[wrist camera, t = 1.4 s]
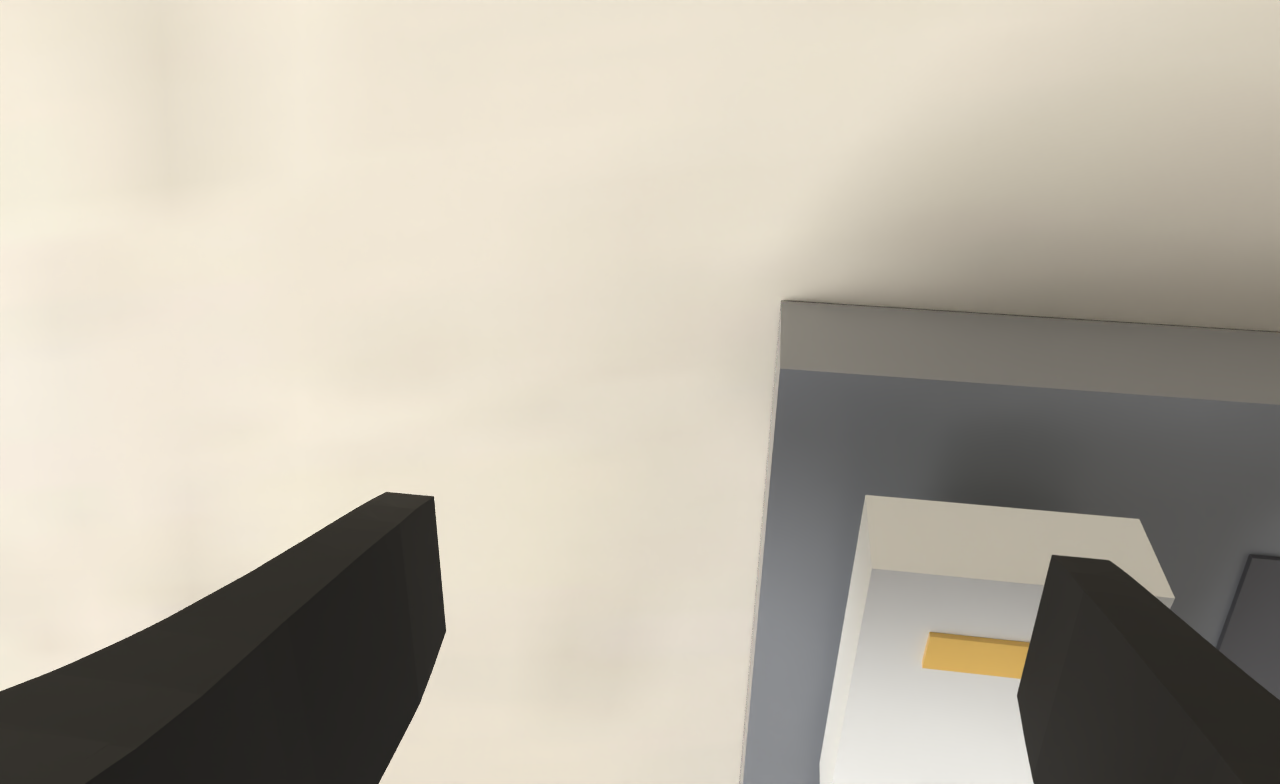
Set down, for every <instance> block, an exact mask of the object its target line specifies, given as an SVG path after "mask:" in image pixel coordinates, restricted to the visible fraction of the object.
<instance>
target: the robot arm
mask: <svg viewBox="0 0 1280 784" xmlns="http://www.w3.org/2000/svg"><path fill="white" fill-rule="evenodd" d="M445 633H446V625H445V614H444V603H443V592H442V581H441V570H440V559H439V548H438V537H437V526H436V515H435V504H434V496H423V495H412V494H402V493H391V492H385V493H383V494H382V495H380V496H378V497H376V498H374V499H372V500H370V501H368V502H366V503H365V504H363V505H361V506H359V507H358V508H356V509H354V510H353V511H351V512H349V513H348V514H346V515H344V516H343V517H341V518H339V519H338V520H336V521H334V522H333V523H331V524H329V525H328V526H326V527H325V528H323V529H321V530H320V531H318V532H316V533H315V534H313V535H311V536H310V537H308V538H307V539H305V540H303V541H302V542H300V543H298V544H297V545H295V546H293V547H292V548H290V549H288V550H287V551H285V552H283V553H282V554H280V555H278V556H277V557H275V558H273V559H272V560H270V561H268V562H267V563H265V564H263V565H262V566H260V567H258V568H257V569H255V570H253V571H252V572H250V573H248V574H246V575H245V576H243V577H241V578H239V579H237V580H235V581H234V582H232V583H230V584H228V585H226V586H224V587H223V588H221V589H219V590H217V591H215V592H214V593H212V594H210V595H208V596H206V597H204V598H203V599H201V600H199V601H197V602H195V603H194V604H192V605H190V606H188V607H186V608H184V609H183V610H181V611H179V612H177V613H175V614H174V615H172V616H170V617H168V618H166V619H164V620H162V621H160V622H158V623H156V624H154V625H152V626H150V627H148V628H146V629H144V630H142V631H140V632H138V633H136V634H134V635H132V636H130V637H128V638H126V639H123V640H121V641H119V642H117V643H115V644H113V645H110V646H108V647H106V648H104V649H102V650H99V651H97V652H95V653H93V654H90V655H88V656H86V657H84V658H82V659H79V660H77V661H75V662H73V663H71V664H68V665H66V666H64V667H61V668H59V669H56V670H54V671H52V672H49V673H47V674H44V675H42V676H39V677H37V678H34V679H31V680H29V681H26V682H24V683H21V684H18V685H16V686H13V687H11V688H8V689H5V690H3V691H0V784H379V782H380V780H381V778H382V776H383V774H384V772H385V770H386V768H387V767H388V765H389V763H390V761H391V759H392V757H393V755H394V753H395V751H396V749H397V747H398V745H399V743H400V741H401V740H402V738H403V736H404V734H405V732H406V730H407V728H408V726H409V724H410V722H411V720H412V718H413V716H414V714H415V712H416V710H417V708H418V706H419V704H420V702H421V699H422V696H423V694H424V691H425V688H426V686H427V683H428V680H429V678H430V675H431V673H432V670H433V667H434V664H435V661H436V658H437V655H438V653H439V650H440V647H441V644H442V641H443V638H444V635H445ZM1017 699H1018V705H1019V711H1020V717H1021V722H1022V728H1023V734H1024V739H1025V745H1026V750H1027V755H1028V760H1029V764H1030V769H1031V774H1032V779H1033V783H1034V784H1280V700H1279V699H1278V698H1276V697H1275V696H1274V695H1273V694H1271V693H1270V692H1269V691H1268V690H1266V689H1265V688H1264V687H1263V686H1261V685H1260V684H1259V683H1258V682H1256V681H1255V680H1254V679H1253V678H1252V677H1250V676H1249V675H1248V674H1247V673H1245V672H1244V671H1243V670H1242V669H1241V668H1239V667H1238V666H1237V665H1236V664H1235V663H1233V662H1232V661H1231V660H1230V659H1228V658H1227V657H1226V656H1225V655H1224V654H1222V653H1221V652H1220V651H1219V650H1218V649H1216V648H1215V647H1214V646H1213V645H1212V644H1211V643H1209V642H1208V641H1207V640H1206V639H1205V638H1203V637H1202V636H1201V635H1200V634H1199V633H1197V632H1196V631H1195V630H1194V629H1193V628H1192V627H1190V626H1189V625H1188V624H1187V623H1186V622H1184V621H1183V620H1182V619H1181V618H1180V617H1179V616H1177V615H1176V614H1175V613H1174V612H1173V611H1172V610H1170V609H1169V608H1168V607H1167V606H1166V605H1164V604H1163V603H1162V602H1161V601H1160V600H1159V599H1157V598H1156V597H1155V596H1154V595H1153V594H1151V593H1150V592H1149V591H1148V590H1147V589H1145V588H1144V587H1143V586H1142V585H1141V584H1139V583H1138V582H1137V581H1136V580H1135V579H1133V578H1132V577H1131V576H1130V575H1128V574H1127V573H1126V572H1125V571H1123V570H1122V569H1121V568H1119V567H1118V566H1117V565H1115V564H1114V563H1113V562H1111V561H1110V560H1104V559H1093V558H1082V557H1072V556H1061V555H1052V556H1051V560H1050V564H1049V568H1048V572H1047V576H1046V580H1045V584H1044V588H1043V592H1042V596H1041V600H1040V604H1039V608H1038V612H1037V616H1036V620H1035V624H1034V628H1033V632H1032V636H1031V640H1030V644H1029V648H1028V652H1027V656H1026V660H1025V664H1024V668H1023V672H1022V676H1021V680H1020V684H1019V688H1018V692H1017Z"/></svg>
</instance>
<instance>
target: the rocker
mask: <svg viewBox="0 0 1280 784" xmlns="http://www.w3.org/2000/svg"><path fill="white" fill-rule="evenodd" d="M1052 555H1061V556H1072V557H1082V558H1093V559H1104V560H1110V561H1111V562H1113V563H1114V564H1115V565H1117V566H1118V567H1119V568H1121V569H1122V570H1123V571H1125V572H1126V573H1127V574H1128V575H1130V576H1131V577H1132V578H1133V579H1135V580H1136V581H1137V582H1138V583H1139V584H1141V585H1142V586H1143V587H1144V588H1145V589H1147V590H1148V591H1149V592H1150V593H1151V594H1153V595H1154V596H1155V597H1156V598H1157V599H1159V600H1160V601H1161V602H1162V603H1163V604H1164V605H1166V606H1167V607H1168V608H1169V609H1170V608H1171V606H1172V604H1173V602H1174V599H1175V597H1174V595H1173V593H1172V590H1171V588H1170V586H1169V584H1168V582H1167V579H1166V577H1165V575H1164V573H1163V570H1162V568H1161V566H1160V564H1159V562H1158V559H1157V557H1156V555H1155V553H1154V551H1153V548H1152V546H1151V544H1150V542H1149V539H1148V537H1147V535H1146V533H1145V531H1144V528H1143V526H1142V524H1141V522H1140V520H1139V519H1133V518H1122V517H1110V516H1099V515H1088V514H1076V513H1065V512H1054V511H1042V510H1031V509H1020V508H1009V507H997V506H986V505H975V504H963V503H952V502H941V501H929V500H918V499H907V498H895V497H884V496H873V495H865V500H864V506H863V512H862V518H861V524H860V530H859V535H858V541H857V547H856V553H855V559H854V565H853V571H852V576H851V582H850V588H849V594H848V600H847V606H846V611H845V617H844V623H843V629H842V635H841V641H840V646H839V652H838V658H837V664H836V670H835V676H834V681H833V687H832V693H831V699H830V705H829V711H828V717H827V722H826V728H825V734H824V740H823V746H822V752H821V757H820V763H819V766H820V784H1034V783H1033V779H1032V774H1031V769H1030V764H1029V760H1028V755H1027V750H1026V745H1025V739H1024V734H1023V728H1022V722H1021V717H1020V711H1019V705H1018V699H1017V692H1018V688H1019V684H1020V680H1021V676H1022V672H1023V668H1024V664H1025V660H1026V656H1027V652H1028V648H1029V644H1030V640H1031V636H1032V632H1033V628H1034V624H1035V620H1036V616H1037V612H1038V608H1039V604H1040V600H1041V596H1042V592H1043V588H1044V584H1045V580H1046V576H1047V572H1048V568H1049V564H1050V560H1051V556H1052Z"/></svg>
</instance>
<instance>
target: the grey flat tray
mask: <svg viewBox="0 0 1280 784" xmlns="http://www.w3.org/2000/svg"><path fill="white" fill-rule="evenodd" d="M865 495H873V496H884V497H895V498H907V499H918V500H929V501H941V502H952V503H963V504H975V505H986V506H997V507H1009V508H1020V509H1031V510H1042V511H1054V512H1065V513H1076V514H1088V515H1099V516H1110V517H1122V518H1133V519H1139V520H1140V522H1141V524H1142V526H1143V528H1144V531H1145V533H1146V535H1147V537H1148V539H1149V542H1150V544H1151V546H1152V548H1153V551H1154V553H1155V555H1156V557H1157V559H1158V562H1159V564H1160V566H1161V568H1162V570H1163V573H1164V575H1165V577H1166V579H1167V582H1168V584H1169V586H1170V588H1171V590H1172V593H1173V595H1174V597H1175V599H1174V602H1173V604H1172V606H1171V608H1170V610H1172V611H1173V612H1174V613H1175V614H1176V615H1177V616H1179V617H1180V618H1181V619H1182V620H1183V621H1184V622H1186V623H1187V624H1188V625H1189V626H1190V627H1192V628H1193V629H1194V630H1195V631H1196V632H1197V633H1199V634H1200V635H1201V636H1202V637H1203V638H1205V639H1206V640H1207V641H1208V642H1209V643H1211V644H1212V645H1213V646H1214V647H1215V648H1216V649H1218V650H1219V651H1220V652H1221V653H1222V654H1224V655H1225V656H1226V657H1227V658H1228V659H1230V660H1231V661H1232V662H1233V663H1235V664H1236V665H1237V666H1238V667H1239V668H1241V669H1242V670H1243V671H1244V672H1245V673H1247V674H1248V675H1249V676H1250V677H1252V678H1253V679H1254V680H1255V681H1256V682H1258V683H1259V684H1260V685H1261V686H1263V687H1264V688H1265V689H1266V690H1268V691H1269V692H1270V693H1271V694H1273V695H1274V696H1275V697H1276V698H1278V699H1279V700H1280V332H1265V331H1250V330H1234V329H1218V328H1202V327H1187V326H1171V325H1155V324H1140V323H1124V322H1108V321H1092V320H1077V319H1061V318H1045V317H1030V316H1014V315H998V314H982V313H967V312H951V311H935V310H919V309H904V308H888V307H872V306H857V305H841V304H825V303H809V302H794V301H781V309H780V320H779V332H778V343H777V355H776V366H775V378H774V389H773V401H772V412H771V424H770V436H769V447H768V459H767V470H766V482H765V493H764V505H763V516H762V528H761V539H760V551H759V562H758V574H757V585H756V597H755V608H754V620H753V631H752V643H751V655H750V666H749V678H748V689H747V701H746V712H745V724H744V735H743V747H742V758H741V770H740V781H739V784H820V766H819V763H820V757H821V752H822V746H823V740H824V734H825V728H826V722H827V717H828V711H829V705H830V699H831V693H832V687H833V681H834V676H835V670H836V664H837V658H838V652H839V646H840V641H841V635H842V629H843V623H844V617H845V611H846V606H847V600H848V594H849V588H850V582H851V576H852V571H853V565H854V559H855V553H856V547H857V541H858V535H859V530H860V524H861V518H862V512H863V506H864V500H865Z"/></svg>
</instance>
